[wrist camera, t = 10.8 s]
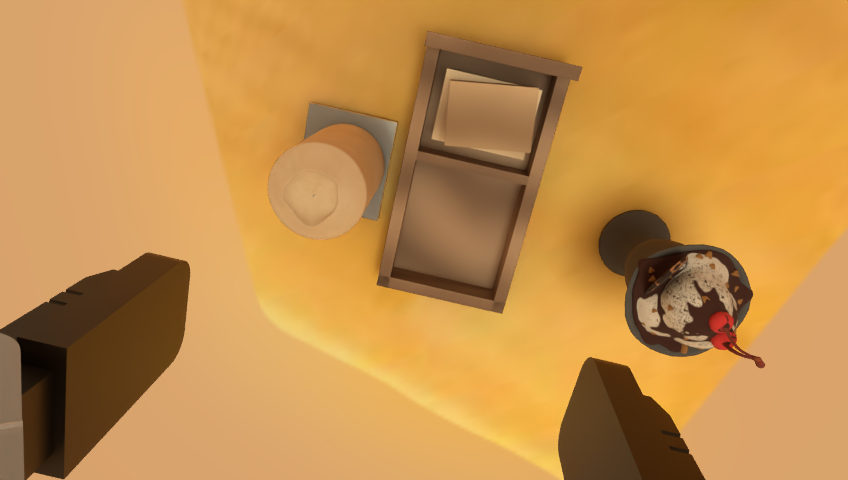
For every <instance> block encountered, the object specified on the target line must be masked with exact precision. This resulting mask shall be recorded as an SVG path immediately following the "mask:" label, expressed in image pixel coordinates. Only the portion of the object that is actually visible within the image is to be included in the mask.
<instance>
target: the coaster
mask: <svg viewBox="0 0 848 480" xmlns="http://www.w3.org/2000/svg"><path fill="white" fill-rule="evenodd" d="M334 124H351V125H355V126H358V127H361V128H362V129H364V130H366V131H367V132H369V133H370V134H371V135H372V136H373V137H374V138H375V139H376V140H377V142H378V143H379V145H380V147H381V149H382V152H383V155H384V160H385V171H384V176H383V179H382V181H381V183H380V185H379V187H378V189H377V191H376V193H375V194H374V196H373V198H372V199H371V201H370V203H369V205H368V206H367V208H366V210H365V211H364V213H363V215H362V217H363V218H368V219H372V220H376V221H377V220H378V218H379V213H380V208H381V204H382V199H383V194H384V189H385V184H386V179H387V174H388V169H389V164H390V159H391V154H392V150H393V145H394V140H395V135H396V130H397V125H398V122H397V121H392V120H388V119H384V118H379V117H375V116H371V115H366V114H362V113H358V112H353V111H349V110H345V109H340V108H336V107H332V106H327V105H323V104H319V103H314V102H310V104H309V110H308V117H307V123H306V130H305V136H304V140H305V139H306V138H308V137H310V136H311V135H313V134H315V133H317V132H318V131H320V130H322V129H324V128H326V127H328V126H331V125H334Z"/></svg>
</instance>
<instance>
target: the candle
mask: <svg viewBox="0 0 848 480" xmlns="http://www.w3.org/2000/svg"><path fill="white" fill-rule="evenodd" d="M384 171H385V160H384V155H383V152H382V149H381V147H380V145H379V143H378V142H377V140H376V139H375V138H374V137H373V136H372V135H371V134H370V133H369V132H367V131H366V130H364V129H362V128H361V127H358V126H355V125H351V124H334V125H331V126H328V127H326V128H324V129H322V130H320V131H318V132H317V133H315V134H313V135H311V136H310V137H308V138H306V139H305V140H303V141H301V142H300V143H298V144H296V145H294V146H293V147H291V148H290V149H288V150H286V151H285V152H284V153H283V154H282V155H281V156H280V157H279V158H278V159H277V160H276V162H275V163H274V165H273V167H272V169H271V171H270V175H269V179H268V196H269V200H270V203H271V206H272V208H273V210H274V212H275V214H276V216H277V217H278V218H279V220H280V221H281V222H282V223H283V224H284V225H285V226H286V227H287V228H289V229H290V230H291V231H293V232H294V233H296V234H298V235H300V236H303V237H306V238H310V239H317V240H326V239H332V238H335V237H338V236H341V235H343V234H345V233H346V232H348V231H349V230H350V229H352V228H353V227H354V226H355V225H356V224H357V222H358V221H359V220H360V218H361V217H362V215H363V213H364V211H365V210H366V208H367V206H368V205H369V203H370V201H371V199H372V198H373V196H374V194H375V193H376V191H377V189H378V187H379V185H380V183H381V181H382V179H383V176H384Z"/></svg>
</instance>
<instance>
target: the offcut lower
mask: <svg viewBox="0 0 848 480" xmlns="http://www.w3.org/2000/svg"><path fill="white" fill-rule="evenodd" d="M451 79H453V80H465V81H477V82H489V83H501V84H513V85H522V84H517V83H513V82H509V81H504V80H500V79H496V78H491V77H487V76H483V75H479V74H474V73H470V72H466V71H461V70H457V69H453V68H447V71H446V76H445V80H444V85H443V89H442V94H441V98H440V102H439V107H438V111H437V116H436V120H435V125H434V129H433V134H432V138H431V139H434V140H438V141H443V142H445V133H446V122H447V111H448V100H449V88H450V80H451ZM525 86H526V85H525ZM541 94H542V90H540V89H539V93H538V101H537V108H536V112H537V109H538V105H539V102H540V98H541ZM473 149H477V150H482V151H486V152H490V153H495V154H499V155H503V156H508V157H512V158H516V159H521V160H523V159H524V156H525V152H514V151H502V150H491V149H479V148H473Z"/></svg>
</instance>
